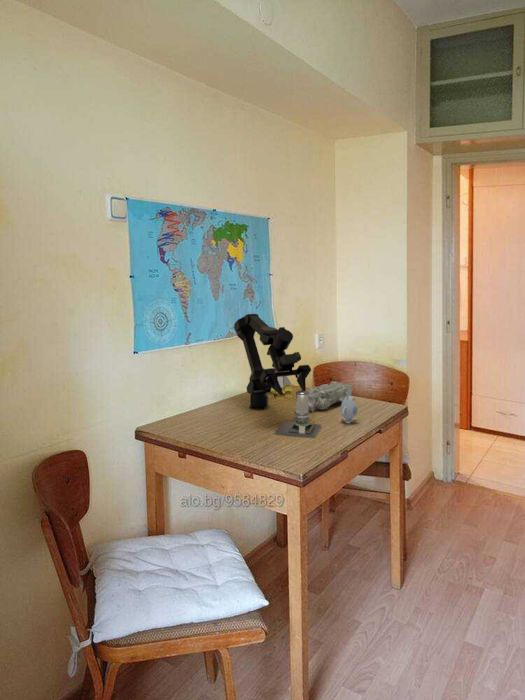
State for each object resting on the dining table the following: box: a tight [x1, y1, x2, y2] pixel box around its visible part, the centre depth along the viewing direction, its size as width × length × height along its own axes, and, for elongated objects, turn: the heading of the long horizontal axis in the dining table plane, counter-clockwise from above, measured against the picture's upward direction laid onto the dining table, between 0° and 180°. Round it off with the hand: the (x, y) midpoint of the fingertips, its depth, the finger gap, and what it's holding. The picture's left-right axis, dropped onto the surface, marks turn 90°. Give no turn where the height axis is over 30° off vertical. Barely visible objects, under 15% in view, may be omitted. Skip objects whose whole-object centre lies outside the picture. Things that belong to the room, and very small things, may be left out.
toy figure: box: [339, 390, 358, 425], centre depth 196 cm, size 11×6×12 cm, turn 144°
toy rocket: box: [267, 367, 294, 400], centre depth 233 cm, size 12×12×30 cm
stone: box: [307, 381, 354, 413], centre depth 219 cm, size 12×10×30 cm
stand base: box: [274, 421, 322, 439], centre depth 187 cm, size 14×12×4 cm
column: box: [293, 390, 310, 430], centre depth 184 cm, size 5×5×13 cm
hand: (293, 393), depth 189 cm, fingers open, 9 cm apart
